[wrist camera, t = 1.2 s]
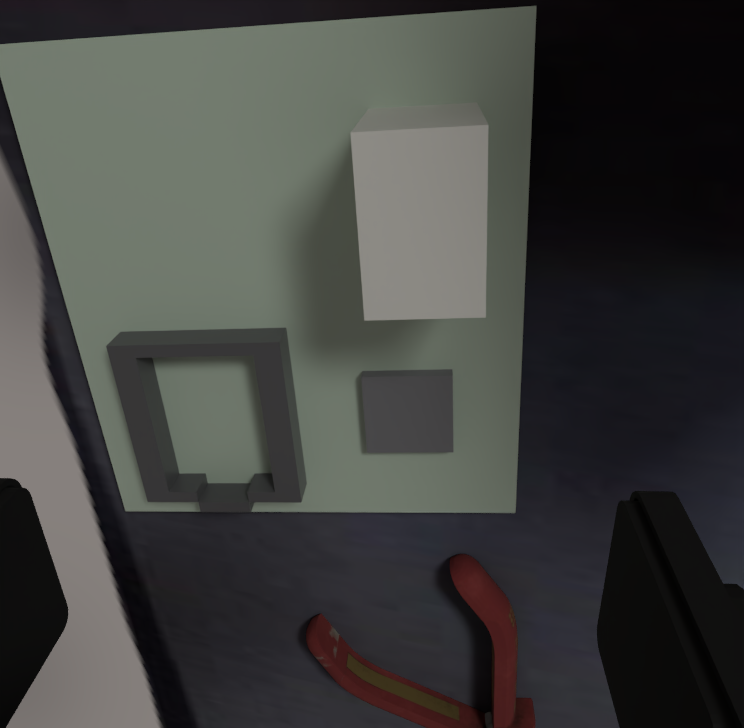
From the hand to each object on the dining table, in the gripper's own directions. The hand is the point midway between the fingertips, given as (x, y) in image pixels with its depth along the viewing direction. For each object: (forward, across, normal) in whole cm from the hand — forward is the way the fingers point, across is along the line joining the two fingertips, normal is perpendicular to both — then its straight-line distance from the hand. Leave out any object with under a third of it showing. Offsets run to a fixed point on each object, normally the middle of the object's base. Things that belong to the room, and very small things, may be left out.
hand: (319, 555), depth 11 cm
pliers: (+20, -3, +28) cm, 35 cm away
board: (+20, +4, +4) cm, 20 cm away
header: (+18, +8, +9) cm, 22 cm away
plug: (+18, -2, -2) cm, 19 cm away
